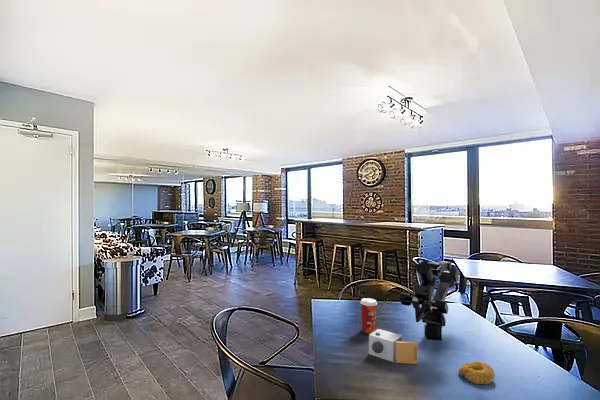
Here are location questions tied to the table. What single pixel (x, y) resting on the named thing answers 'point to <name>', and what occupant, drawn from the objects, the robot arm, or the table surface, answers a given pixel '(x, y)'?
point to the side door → (405, 352)
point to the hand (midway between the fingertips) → (417, 321)
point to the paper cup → (368, 314)
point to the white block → (383, 344)
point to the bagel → (477, 372)
